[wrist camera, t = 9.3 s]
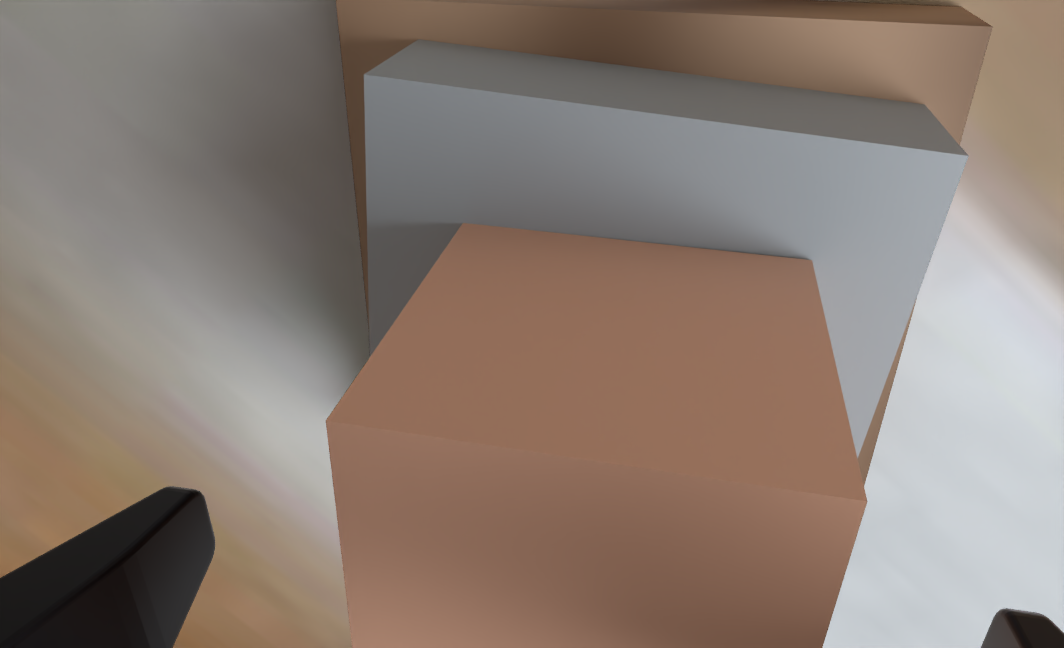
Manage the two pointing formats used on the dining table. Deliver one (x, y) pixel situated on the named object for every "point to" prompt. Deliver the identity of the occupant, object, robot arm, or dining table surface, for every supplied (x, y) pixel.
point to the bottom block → (693, 57)
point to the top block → (660, 179)
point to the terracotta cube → (597, 452)
